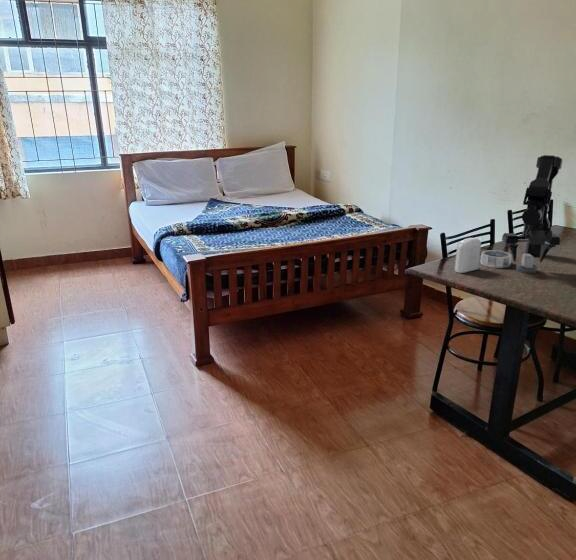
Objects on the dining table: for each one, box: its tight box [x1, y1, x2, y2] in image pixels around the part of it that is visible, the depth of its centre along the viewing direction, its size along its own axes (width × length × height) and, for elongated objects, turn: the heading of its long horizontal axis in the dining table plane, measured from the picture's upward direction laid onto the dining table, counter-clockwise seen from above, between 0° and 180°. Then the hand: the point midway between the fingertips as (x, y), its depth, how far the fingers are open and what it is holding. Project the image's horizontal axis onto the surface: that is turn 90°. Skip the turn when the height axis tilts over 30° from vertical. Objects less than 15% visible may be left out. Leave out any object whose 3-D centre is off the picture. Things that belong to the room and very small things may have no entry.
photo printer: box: [454, 237, 482, 274], centre depth 185 cm, size 10×4×12 cm, turn 123°
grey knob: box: [515, 253, 538, 275], centre depth 186 cm, size 7×7×6 cm
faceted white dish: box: [479, 249, 513, 269], centre depth 195 cm, size 11×11×4 cm
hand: (527, 261), depth 186 cm, fingers open, 9 cm apart
